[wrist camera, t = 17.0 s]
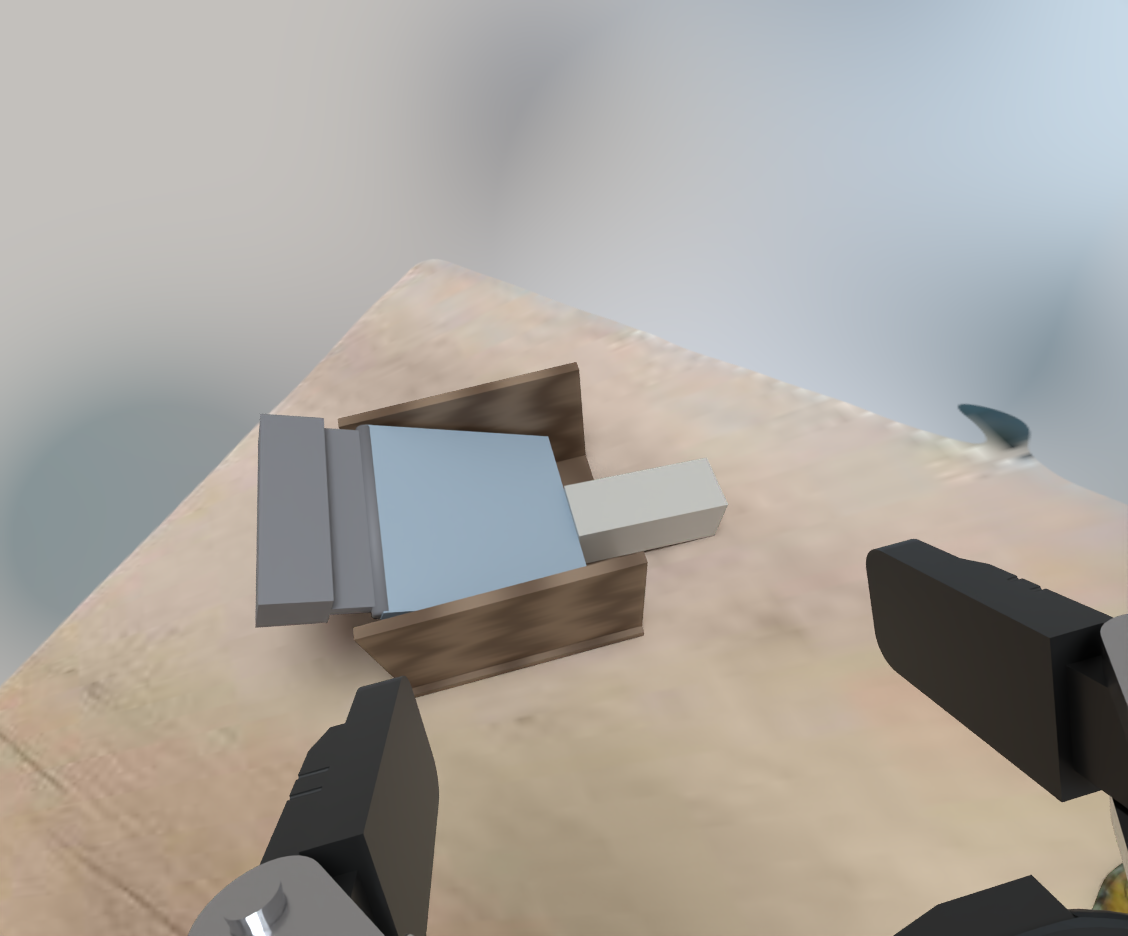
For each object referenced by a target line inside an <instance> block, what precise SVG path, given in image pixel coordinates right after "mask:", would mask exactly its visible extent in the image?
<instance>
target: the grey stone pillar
mask: <svg viewBox="0 0 1128 936" xmlns="http://www.w3.org/2000/svg"><path fill="white" fill-rule="evenodd" d="M564 492H565V495H566V498H567V502H568V505H569V508H570V512H571V515H572V519H573V522H574V525H575V529H576V532H577V535H578V539H579V542H580V546H581V549H582V552H583V556H584V559H585V562H586V563H591V562H595V561H600V560H604V559H609V558H613V557H618V556H622V555H627V554H632V553H636V552H641V551H645V550H650V549H654V548H659V547H663V546H668V545H672V544H677V543H682V542H686V541H691V540H695V539H700V538H704V537H709V536H713V535H715V533H716V530H717V528H718V526H719V524H720V521H721V519H722V517H723V515H724V513H725V510H726V508H727V506H728V503H727V501H726V499H725V497H724V495H723V492H722V490H721V488H720V486H719V484H718V481H717V479H716V477H715V475H714V473H713V470H712V468H711V466H710V464H709V462H708V460H707V458H702V459H697V460H692V461H687V462H682V463H677V464H672V465H667V466H662V467H657V468H652V469H647V470H642V471H637V472H632V473H627V474H622V475H617V476H612V477H607V478H602V479H597V480H592V481H587V482H582V483H577V484H572V485H567V486H564Z"/></svg>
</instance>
